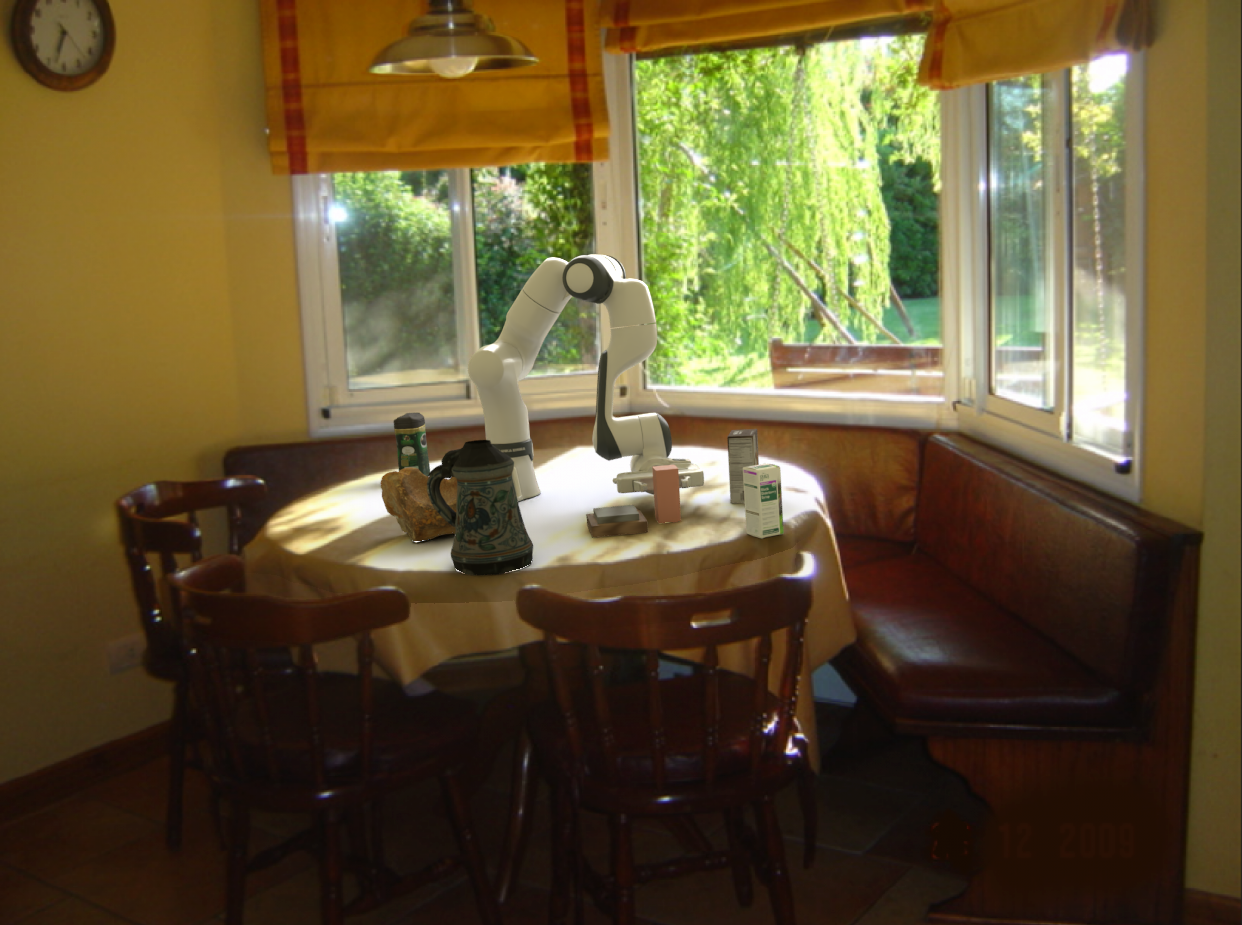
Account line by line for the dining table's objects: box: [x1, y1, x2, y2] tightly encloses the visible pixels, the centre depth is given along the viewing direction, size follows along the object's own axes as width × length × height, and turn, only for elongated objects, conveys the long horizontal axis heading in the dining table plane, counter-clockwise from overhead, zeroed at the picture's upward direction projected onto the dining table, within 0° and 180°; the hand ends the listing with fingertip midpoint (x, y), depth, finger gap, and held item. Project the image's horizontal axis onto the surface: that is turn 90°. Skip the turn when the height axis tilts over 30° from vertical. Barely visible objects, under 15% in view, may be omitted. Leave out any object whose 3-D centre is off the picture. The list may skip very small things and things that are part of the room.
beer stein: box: [427, 439, 534, 577], centre depth 235 cm, size 16×19×25 cm
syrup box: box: [743, 462, 784, 539], centre depth 247 cm, size 6×6×14 cm
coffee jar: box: [393, 412, 431, 477], centre depth 331 cm, size 10×8×19 cm
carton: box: [652, 465, 682, 524], centre depth 264 cm, size 5×5×12 cm
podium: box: [585, 504, 649, 538], centre depth 260 cm, size 12×12×4 cm
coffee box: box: [726, 428, 760, 504], centre depth 280 cm, size 9×6×16 cm
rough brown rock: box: [379, 467, 457, 541], centre depth 263 cm, size 23×17×15 cm
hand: (664, 486), depth 267 cm, fingers open, 8 cm apart
